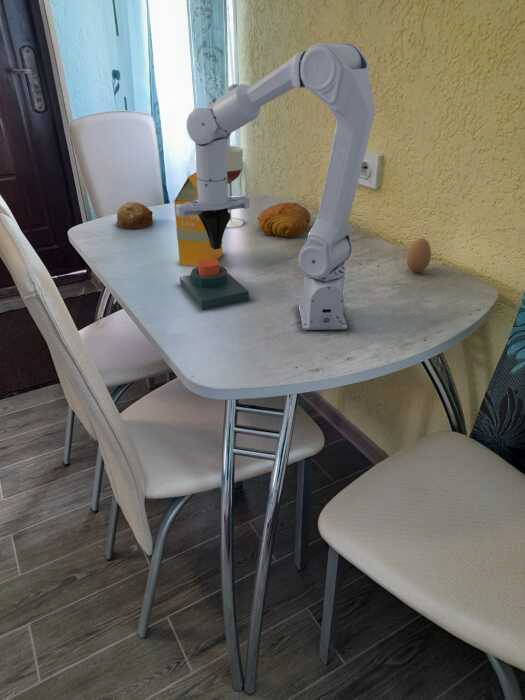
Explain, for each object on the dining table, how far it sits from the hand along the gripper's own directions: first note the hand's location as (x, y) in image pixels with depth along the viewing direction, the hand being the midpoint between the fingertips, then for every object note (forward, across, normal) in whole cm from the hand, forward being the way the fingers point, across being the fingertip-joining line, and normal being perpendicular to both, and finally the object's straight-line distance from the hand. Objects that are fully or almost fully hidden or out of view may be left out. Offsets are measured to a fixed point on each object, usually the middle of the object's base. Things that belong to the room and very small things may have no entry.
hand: (215, 247), depth 102 cm
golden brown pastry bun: (+9, -31, -28) cm, 43 cm away
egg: (+9, -43, +12) cm, 46 cm away
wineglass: (+9, -20, -40) cm, 46 cm away
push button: (+5, +2, 0) cm, 6 cm away
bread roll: (+9, +4, -51) cm, 52 cm away
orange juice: (+9, -3, -17) cm, 20 cm away
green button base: (+9, +2, +2) cm, 9 cm away
